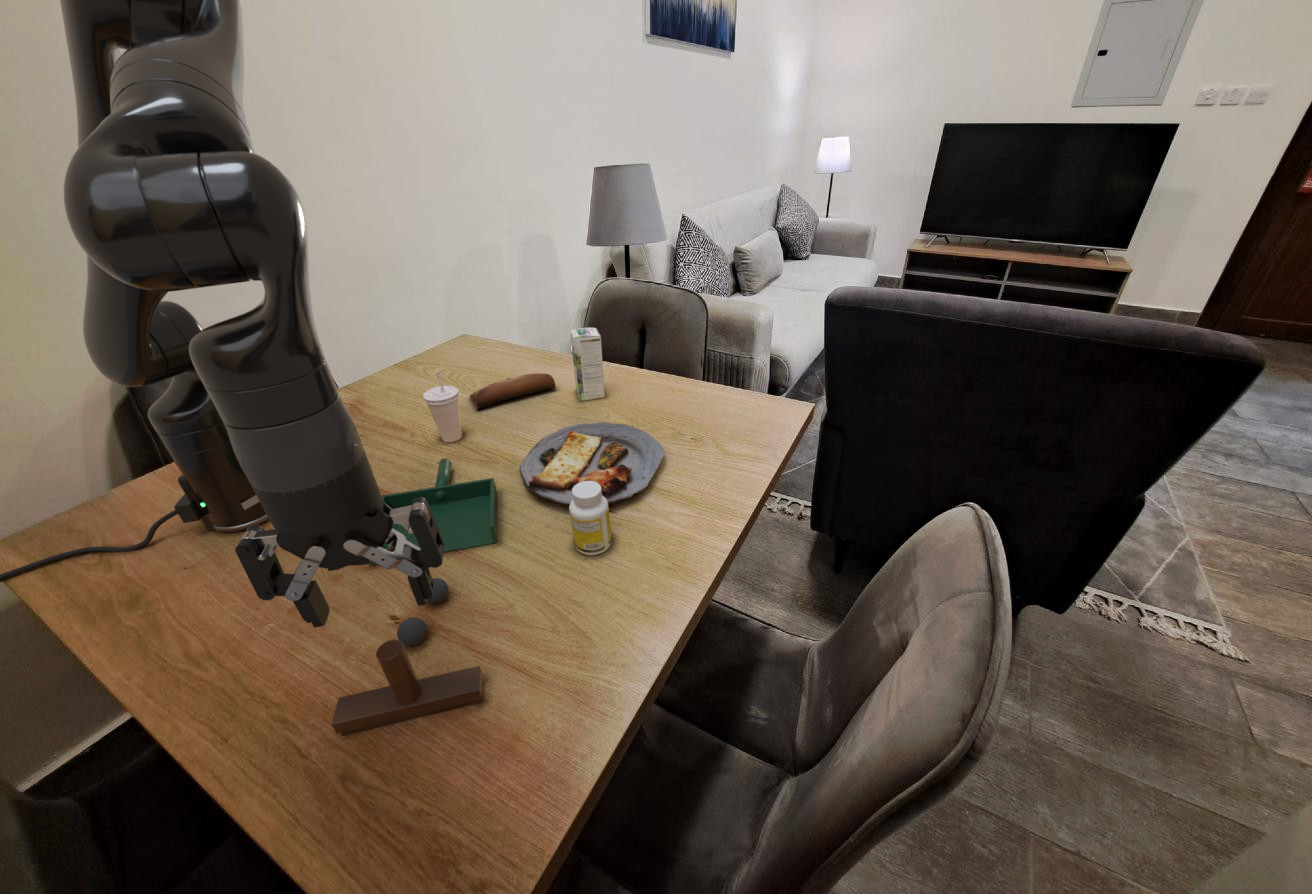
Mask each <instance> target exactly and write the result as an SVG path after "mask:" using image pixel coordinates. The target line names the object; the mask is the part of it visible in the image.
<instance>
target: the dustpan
mask: <svg viewBox="0 0 1312 894" xmlns="http://www.w3.org/2000/svg"><path fill="white" fill-rule="evenodd" d="M451 470H452V460H451V459H449V458H446V457H445V458H442V459H440V460H439V462H438V469H437V473H436V480H435V486H433V487H426V488H420V489H415V490H414V489H413V490H408V491H401V492H395V493H389V494H381V497H382V500H383V501H384V502H385V504H387V505H388V506H389V507H390V508H391V509H396V508H401V507H406V506H410V505H412V501H413V500H414V499H415V498H417V497H422V498H425V499H426V500H427V502H428V504H429V507H430V509H431V512H432V514H433V516H434V519H435V521H436V524H437V526H438V529H439V531H440V534H441V536H442V539H443V541H444V552H443V554H444V553H449V552H455V551H461V550H466V549H471V548H476V547H483V546H488V545H493V544H497V543H498V491H497V485H496V483H495V478H494V477H490V478H484V479H477V480H471V481H464V482H459V483H451V484H450V478H451ZM393 529H395V530H396V531H398V532H400V533H402V534H403V535H404V536H405V537H406V540H407V541H409V542H410V543H412V544H414V545H416V546H417V547H419V548H420V546H419V544H418V541H417V539H416V537H415V535H414V533H412V534H409V533H408V532H407V530H405V528H404V527H403V526H401V525H398V524H394V525H393ZM382 548H383V549H385V550H388V545H387V543H386V542H385V543H384V545H383V547H382ZM370 563H371V566H372V567H373V566H379V565H378V564H377V563H375V562H373V561H371V560H370Z"/></svg>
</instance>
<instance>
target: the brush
mask: <svg viewBox="0 0 1312 894" xmlns="http://www.w3.org/2000/svg"><path fill="white" fill-rule="evenodd" d="M375 655H376V656H375V657H376V659H377V661H378V663H379V665H380V668H381V669H382V670H381V671H383V674H384V676H385V678H386V681H387V682H388V684H389V685H387V686H384V687H379V688H375V689H370V690H366V691H362V692H357V693H352V694H349V695H348V694H347V695H344V696H340V697H338V700H337V702H336V706H335V710H334V713H333V717H332V721H331V723H330V724H331V727H332V728H333V730H334V732H335V733H336V734H341V736H347V735H351V734H355V733H360V732H363V731H368V730H372V729H376V728H380V727H384V726H388V725H393V724H396V723H401V722H405V721H409V720H413V719H418V718H421V717H426V716H430V715H435V714H439V713H443V712H447V711H451V710H454V709H455V710H456V709H459V708H463V707H467V706H472V705H476V704H481V703H482V701H483V678H484V676H483V672H482V668H481V665H477V666H472V667H468V668H463V669H458V670H454V671H449V672H445V673H441V674H435V675H432V676H428V677H423V678H419V679H418V677H417V674H416V671H415V669H414V666H413V665H412V662H411V659H410V657H409V655H408V653H407V651H406V648H405V645H403V643H402V642H401V641H400V640H399V639H390V640H387V641H385V642H383V643H382V644H381V645H380V646H379V647H378V648H377V650H376V652H375Z"/></svg>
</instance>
